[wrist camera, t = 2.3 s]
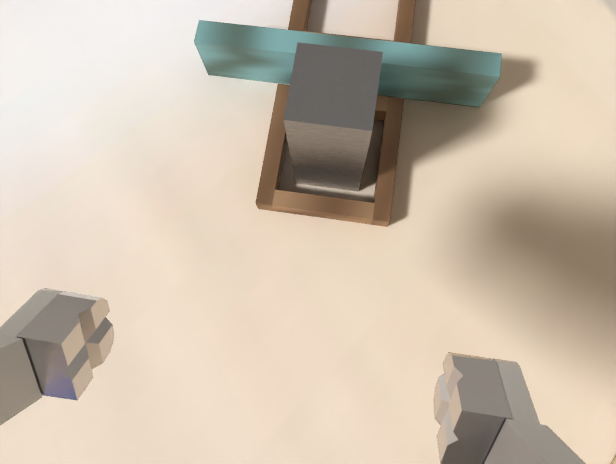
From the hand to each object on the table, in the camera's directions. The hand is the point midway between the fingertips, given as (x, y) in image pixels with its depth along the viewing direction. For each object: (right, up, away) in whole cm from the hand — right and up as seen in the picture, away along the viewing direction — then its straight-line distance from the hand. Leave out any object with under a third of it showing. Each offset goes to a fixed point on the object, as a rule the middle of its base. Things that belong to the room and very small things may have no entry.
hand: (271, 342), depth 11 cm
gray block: (+2, +7, +18) cm, 20 cm away
